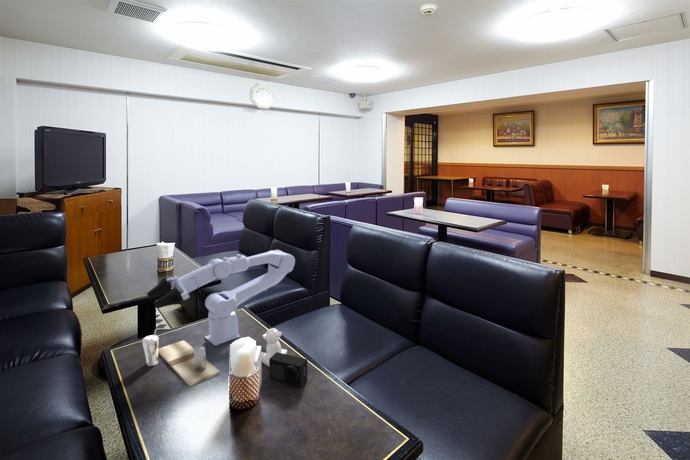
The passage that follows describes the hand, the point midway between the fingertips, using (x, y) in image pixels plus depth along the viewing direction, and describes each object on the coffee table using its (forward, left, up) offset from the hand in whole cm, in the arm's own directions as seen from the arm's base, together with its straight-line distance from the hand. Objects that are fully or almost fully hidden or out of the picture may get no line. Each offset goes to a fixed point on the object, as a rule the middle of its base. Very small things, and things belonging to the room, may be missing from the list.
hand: (151, 300), depth 117 cm
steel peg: (-7, +17, -19) cm, 26 cm away
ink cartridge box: (-13, +36, -20) cm, 43 cm away
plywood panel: (-6, +9, -20) cm, 22 cm away
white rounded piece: (+2, +2, -20) cm, 20 cm away
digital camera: (-23, +39, -20) cm, 49 cm away
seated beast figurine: (-26, +28, -20) cm, 43 cm away
